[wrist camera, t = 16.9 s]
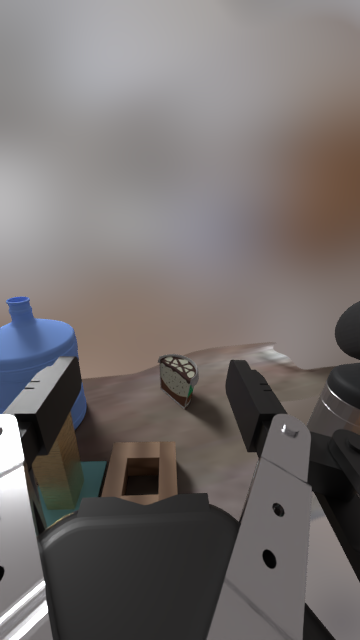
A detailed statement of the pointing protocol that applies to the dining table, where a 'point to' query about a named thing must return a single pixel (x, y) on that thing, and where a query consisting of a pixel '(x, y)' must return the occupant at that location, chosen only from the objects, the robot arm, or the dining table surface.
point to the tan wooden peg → (60, 470)
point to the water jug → (33, 352)
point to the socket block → (141, 469)
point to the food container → (178, 377)
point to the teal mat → (90, 488)
